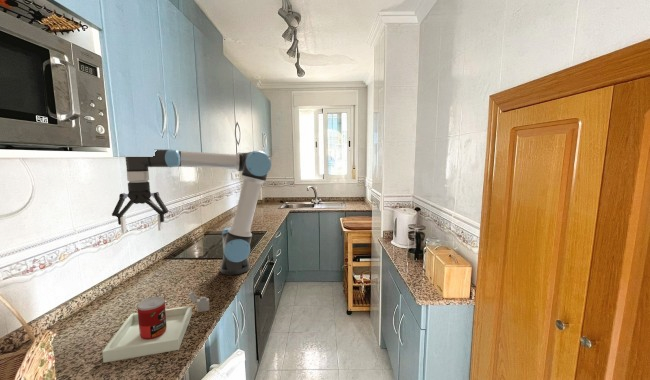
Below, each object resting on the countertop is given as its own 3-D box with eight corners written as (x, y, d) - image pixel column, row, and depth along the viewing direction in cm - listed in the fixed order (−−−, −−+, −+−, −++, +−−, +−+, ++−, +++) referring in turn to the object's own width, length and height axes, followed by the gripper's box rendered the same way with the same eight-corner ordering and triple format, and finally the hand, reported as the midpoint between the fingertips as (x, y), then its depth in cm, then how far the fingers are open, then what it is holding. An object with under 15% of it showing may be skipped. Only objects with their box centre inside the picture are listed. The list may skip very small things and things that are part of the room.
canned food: (154, 341, 86) (151, 309, 85) (133, 338, 88) (130, 307, 87) (172, 327, 94) (170, 297, 93) (152, 324, 95) (150, 295, 94)
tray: (191, 314, 103) (191, 305, 103) (178, 349, 84) (178, 339, 84) (131, 322, 98) (131, 313, 97) (103, 362, 79) (102, 351, 78)
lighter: (209, 308, 107) (208, 289, 107) (208, 310, 106) (207, 291, 105) (190, 310, 106) (188, 291, 105) (189, 313, 104) (187, 293, 103)
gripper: (174, 180, 119) (177, 226, 122) (108, 181, 113) (112, 230, 115) (169, 181, 112) (172, 231, 115) (98, 182, 106) (103, 235, 108)
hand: (142, 230), depth 115 cm, fingers open, 13 cm apart
